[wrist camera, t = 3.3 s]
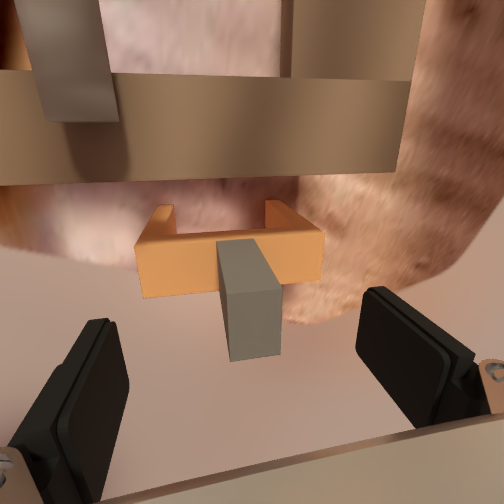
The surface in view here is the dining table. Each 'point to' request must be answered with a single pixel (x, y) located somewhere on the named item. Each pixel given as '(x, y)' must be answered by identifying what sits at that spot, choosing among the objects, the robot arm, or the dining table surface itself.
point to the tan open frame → (210, 101)
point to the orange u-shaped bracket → (234, 270)
